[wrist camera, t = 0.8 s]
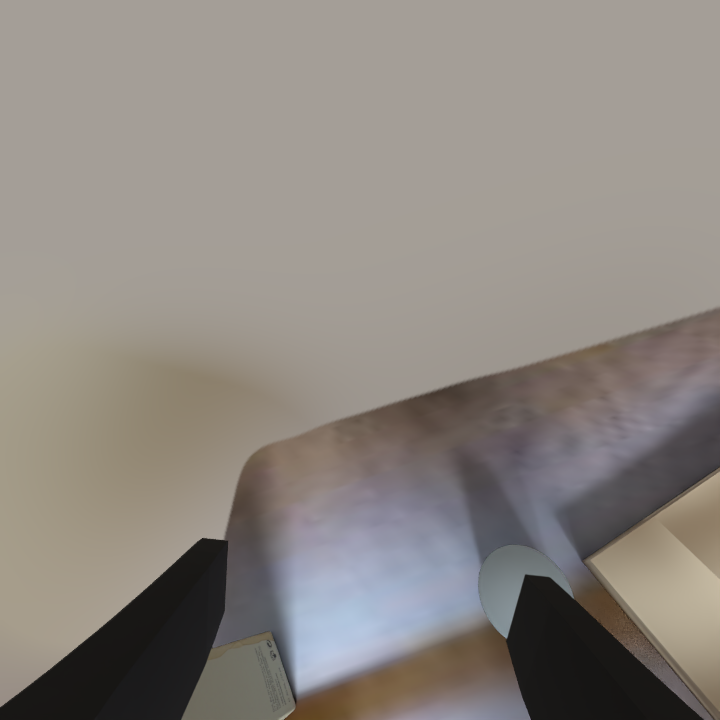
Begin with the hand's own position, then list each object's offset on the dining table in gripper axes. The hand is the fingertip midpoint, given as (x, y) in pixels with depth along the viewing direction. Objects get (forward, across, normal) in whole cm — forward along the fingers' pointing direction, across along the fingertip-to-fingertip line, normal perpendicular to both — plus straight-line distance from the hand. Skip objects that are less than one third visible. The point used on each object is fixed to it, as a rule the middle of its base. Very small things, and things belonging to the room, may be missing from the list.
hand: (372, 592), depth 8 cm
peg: (+9, -10, +8) cm, 15 cm away
